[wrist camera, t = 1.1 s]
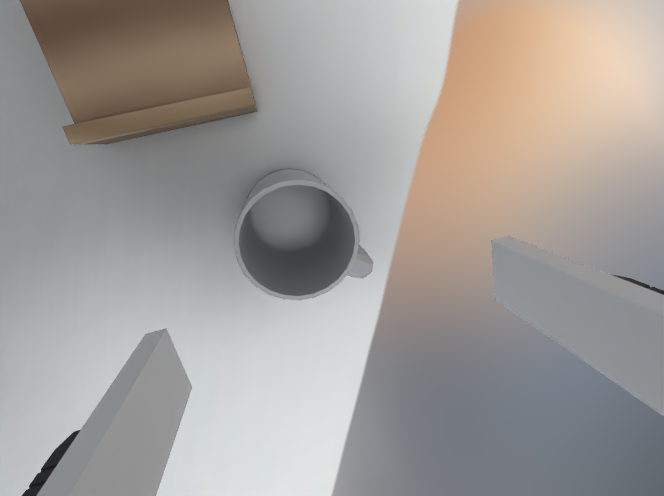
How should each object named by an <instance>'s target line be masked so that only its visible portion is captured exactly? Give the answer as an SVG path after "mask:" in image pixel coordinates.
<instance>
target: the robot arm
mask: <svg viewBox="0 0 664 496" xmlns="http://www.w3.org/2000/svg"><path fill="white" fill-rule="evenodd" d="M491 242H492V258H493V276H494V293H495V300H497V301H498V302H500V303H501V304H503V305H504V306H505V307H507V308H508V309H510V310H511V311H513V312H514V313H516V314H517V315H518V316H520V317H521V318H523V319H524V320H526V321H527V322H529V323H530V324H531V325H533V326H534V327H536V328H537V329H539V330H540V331H541V332H543V333H545V334H546V335H547V336H549V337H550V338H552V339H553V340H554V341H556V342H557V343H559V344H561V345H562V346H563V347H565V348H566V349H568V350H569V351H570V352H572V353H573V354H575V355H576V356H578V357H579V358H580V359H582V360H583V361H585V362H587V363H588V364H589V365H591V366H592V367H593V368H595V369H596V370H598V371H599V372H601V373H602V374H603V375H605V376H607V377H608V378H609V379H611V380H612V381H614V382H615V383H616V384H618V385H620V386H621V387H622V388H624V389H625V390H627V391H628V392H629V393H631V394H632V395H634V396H635V397H637V398H638V399H640V400H641V401H642V402H644V403H645V404H647V405H648V406H650V407H651V408H653V409H654V410H655V411H657V412H659V413H660V414H661V415H663V416H664V291H663V290H660V289H657V288H655V287H650V286H649V285H647V284H644V283H641V282H639V281H636V280H633V279H631V278H626V277H621V276H616V275H611V274H608V273H605V272H602V271H600V270H597V269H595V268H592V267H589V266H587V265H584V264H582V263H579V262H576V261H574V260H571V259H569V258H566V257H563V256H560V255H558V254H555V253H553V252H550V251H548V250H545V249H543V248H540V247H537V246H535V245H532V244H529V243H527V242H524V241H522V240H519V239H516V238H513V237H511V236H505V237H501V238H498V239H494V240H492V241H491ZM191 389H192V386H191V383H190V381H189V379H188V377H187V374H186V372H185V370H184V367H183V365H182V363H181V361H180V358H179V356H178V354H177V352H176V349H175V347H174V345H173V342H172V340H171V338H170V336H169V333H168V331H167V329H163V330H159V331H155V332H152V333H148V334H145V336H144V337H143V339H142V340H141V342H140V343H139V344H138V346H137V347H136V349H135V350H134V352H133V353H132V355H131V356H130V358H129V359H128V361H127V362H126V364H125V365H124V367H123V368H122V370H121V371H120V373H119V374H118V376H117V377H116V379H115V380H114V382H113V383H112V384H111V386H110V387H109V389H108V390H107V392H106V393H105V395H104V396H103V398H102V399H101V401H100V402H99V404H98V405H97V407H96V408H95V410H94V411H93V413H92V414H91V416H90V417H89V419H88V420H87V422H86V423H85V424H84V426H83V427H82V429H81V430H79V431H75V432H73V433H72V434H71V435H70V436H69V437H68V438H67V439H66V440H65V441H64V442H63V443H62V444H61V445H60V446H59V447H58V448H56V449H55V450H54V452H53V453H52V455H51V456H50V457H49V459H48V460H47V462H46V463H45V464H44V466H43V467H42V469H41V473H38V474H37V476H36V477H35V478H34V480H33V481H32V483H31V484H30V485H29V489H28V490H26V491H25V492H24V494H23V495H22V496H156V494H157V491H158V488H159V485H160V482H161V479H162V476H163V473H164V470H165V467H166V464H167V461H168V458H169V455H170V452H171V449H172V446H173V443H174V440H175V437H176V434H177V431H178V428H179V425H180V422H181V419H182V416H183V413H184V410H185V407H186V404H187V401H188V398H189V395H190V392H191Z"/></svg>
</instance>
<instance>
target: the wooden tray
mask: <svg viewBox="0 0 664 496" xmlns="http://www.w3.org/2000/svg"><path fill="white" fill-rule="evenodd" d="M20 2H21V4H22V6H23V8H24V11H25V13H26V15H27V17H28V20H29V22H30V24H31V26H32V29H33V31H34V33H35V35H36V38H37V40H38V42H39V44H40V47H41V49H42V51H43V53H44V56H45V58H46V60H47V62H48V65H49V67H50V69H51V71H52V74H53V76H54V78H55V80H56V83H57V85H58V87H59V90H60V92H61V94H62V96H63V99H64V101H65V103H66V105H67V108H68V110H69V112H70V114H71V117H72V119H73V121H74V123H75V124H73V125H68V126H63V130H64V132H65V134H66V136H67V138H68V141H69V143H70V144H109V143H114V142H118V141H123V140H128V139H132V138H137V137H142V136H146V135H151V134H155V133H160V132H165V131H169V130H174V129H178V128H183V127H188V126H192V125H197V124H201V123H206V122H211V121H215V120H220V119H225V118H229V117H234V116H238V115H243V114H248V113H252V112H257V108H256V104H255V101H254V97H253V93H252V89H251V86H250V82H249V78H248V74H247V71H246V67H245V63H244V59H243V56H242V52H241V48H240V44H239V41H238V37H237V33H236V30H235V26H234V22H233V18H232V15H231V11H230V7H229V3H228V0H20Z"/></svg>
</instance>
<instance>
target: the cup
mask: <svg viewBox="0 0 664 496" xmlns="http://www.w3.org/2000/svg"><path fill="white" fill-rule="evenodd" d="M234 249H235V253H236V258H237V262H238V263H239V265H240V267H241V269H242V271H243V273H244V275H245V276H246V277H247V278H248V279H249V280H250V281H251V282H252V283H253V284H254V285H255V286H256V287H257V288H259V289H261V290H262V291H264V292H266V293H267V294H269V295H272V296H275V297H279V298H282V299H290V300H302V299H308V298H313V297H316V296H319V295H321V294H323V293H326V292H328V291H330V290H331V289H332V288H333V287H335V286H336V285H337V284H339V283H340V282H341V281H342V280H343V279H344V277H345V276H346V275H348V276H351V277H356V278H364V277H366V276H367V275H369V274H370V273H371V272H372V268H373V261H372V259H371V258H370V256H369V255H368V254H367V253H366V251H365V250H364V249H363V248H362V247H361V246H360V245H359V231H358V225H357V222H356V219H355V217H354V214H353V211H352V210H351V209H350V207H349V206H348V205H347V203H346V202H345V200H344V199H343V198H342V197H340V196H339V195H338V194H337V193H335V192H334V191H333V190H332V189H330V188H329V187H328V186H327V185H325V184H324V183H323V182H321V181H320V180H319V179H318V178H316V177H315V176H314V175H311V174H309V173H307V172H304V171H301V170H294V169H286V170H279V171H276V172H274V173H271V174H269V175H267V176H265V177H264V178H263V179H262V180H260V181H259V182H258V183H257V184H256V185H255V187H254V188H253V189H252V191H251V192H250V194H249V196H248V198H247V200H246V203H245V205H244V207H243V209H242V211H241V214H240V216H239V219H238V222H237V225H236V227H235V235H234Z"/></svg>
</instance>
